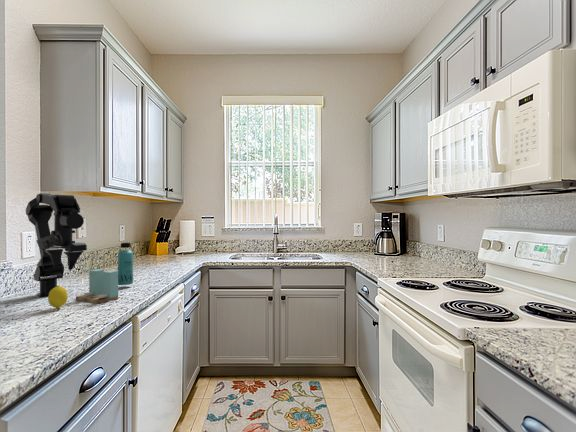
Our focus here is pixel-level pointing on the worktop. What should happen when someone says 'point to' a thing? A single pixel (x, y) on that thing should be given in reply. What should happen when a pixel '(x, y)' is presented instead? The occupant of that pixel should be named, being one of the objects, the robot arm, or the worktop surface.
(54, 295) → the lemon
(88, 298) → the board
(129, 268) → the beverage bottle
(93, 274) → the block
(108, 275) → the fixed leg
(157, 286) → the worktop surface
